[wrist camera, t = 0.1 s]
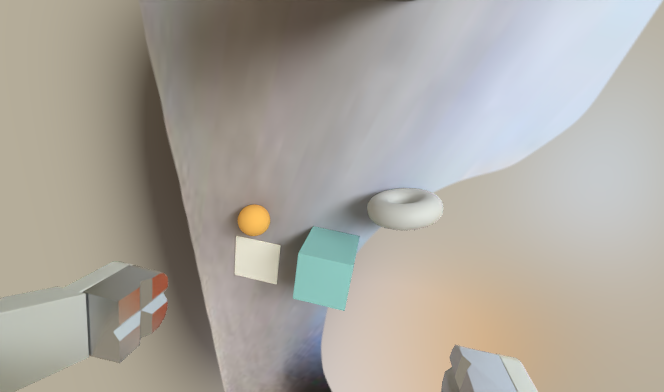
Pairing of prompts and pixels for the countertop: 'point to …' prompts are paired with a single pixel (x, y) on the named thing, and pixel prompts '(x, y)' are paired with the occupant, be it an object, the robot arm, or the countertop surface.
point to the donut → (405, 208)
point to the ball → (253, 220)
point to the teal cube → (325, 268)
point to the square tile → (257, 259)
